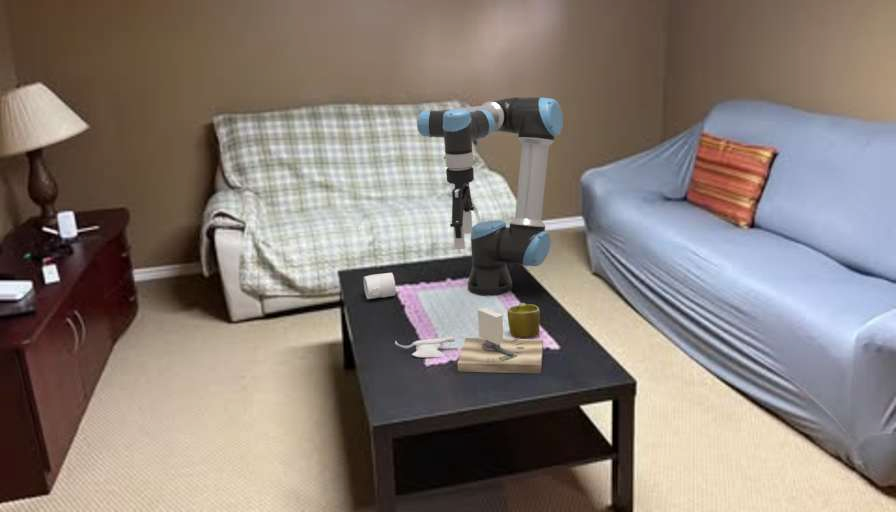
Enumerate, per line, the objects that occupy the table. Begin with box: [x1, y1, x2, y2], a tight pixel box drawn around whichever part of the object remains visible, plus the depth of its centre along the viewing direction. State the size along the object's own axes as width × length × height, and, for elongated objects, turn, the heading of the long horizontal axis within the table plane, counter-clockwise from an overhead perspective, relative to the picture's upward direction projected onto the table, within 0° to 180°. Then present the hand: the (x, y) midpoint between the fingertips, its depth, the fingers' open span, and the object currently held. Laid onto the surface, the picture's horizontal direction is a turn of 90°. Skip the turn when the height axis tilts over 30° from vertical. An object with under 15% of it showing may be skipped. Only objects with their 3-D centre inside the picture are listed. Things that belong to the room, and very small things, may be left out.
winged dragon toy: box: [393, 336, 456, 358], centre depth 218 cm, size 18×10×4 cm, turn 93°
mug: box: [506, 302, 541, 339], centre depth 226 cm, size 12×10×10 cm
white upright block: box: [477, 307, 514, 356], centre depth 209 cm, size 5×12×10 cm, turn 39°
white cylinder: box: [363, 272, 397, 300], centre depth 261 cm, size 12×9×8 cm
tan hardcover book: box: [457, 337, 544, 375], centre depth 211 cm, size 16×22×3 cm
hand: (463, 240), depth 218 cm, fingers open, 13 cm apart
